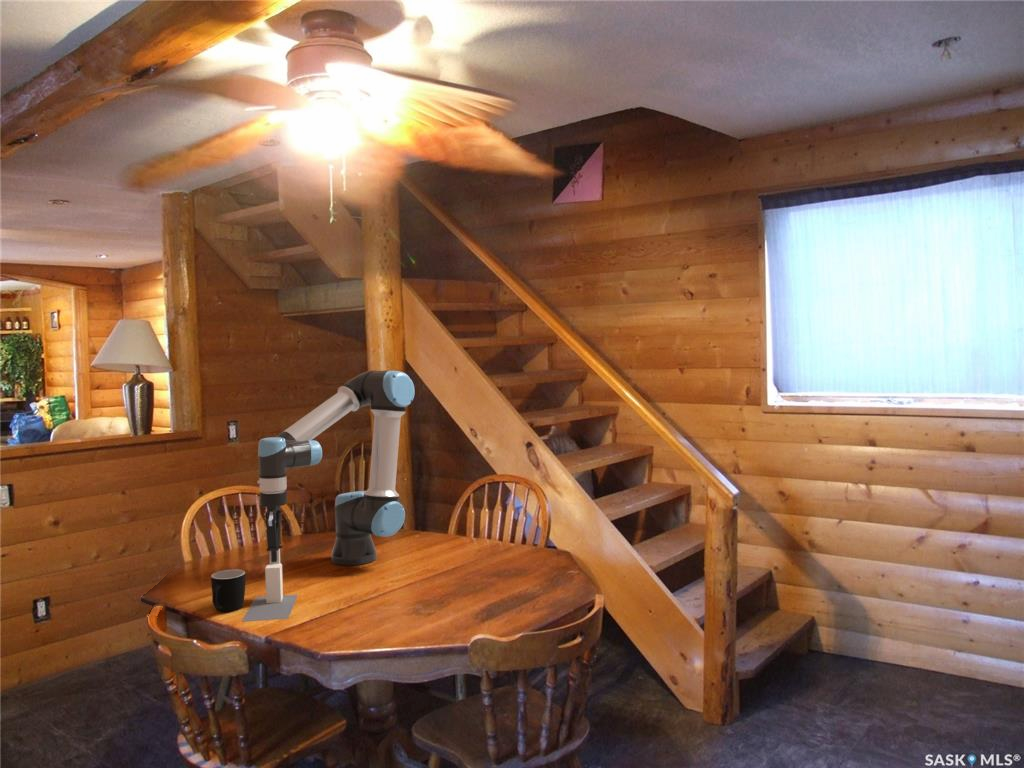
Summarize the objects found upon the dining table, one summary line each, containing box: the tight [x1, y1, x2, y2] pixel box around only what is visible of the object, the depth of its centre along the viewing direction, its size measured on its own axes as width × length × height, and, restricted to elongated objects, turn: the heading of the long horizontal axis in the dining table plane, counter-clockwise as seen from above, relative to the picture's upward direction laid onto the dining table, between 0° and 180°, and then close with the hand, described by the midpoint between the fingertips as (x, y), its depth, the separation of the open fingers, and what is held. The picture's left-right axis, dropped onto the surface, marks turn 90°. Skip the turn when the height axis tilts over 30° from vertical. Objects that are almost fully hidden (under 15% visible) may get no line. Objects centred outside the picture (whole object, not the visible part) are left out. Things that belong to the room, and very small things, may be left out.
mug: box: [210, 568, 246, 613], centre depth 214 cm, size 12×9×10 cm
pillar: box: [264, 563, 284, 603], centre depth 222 cm, size 4×4×10 cm
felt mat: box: [241, 594, 299, 623], centre depth 216 cm, size 12×20×1 cm, turn 8°
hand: (275, 571), depth 225 cm, fingers closed
